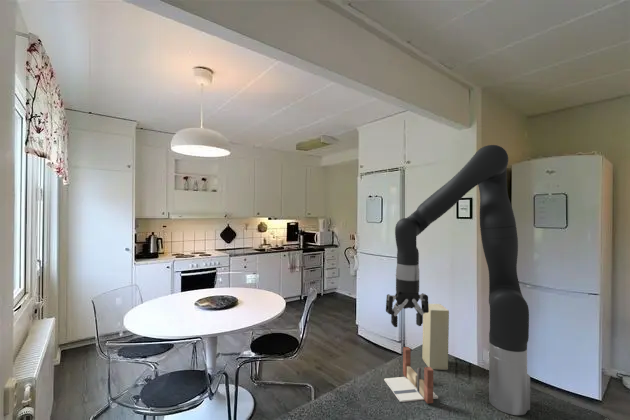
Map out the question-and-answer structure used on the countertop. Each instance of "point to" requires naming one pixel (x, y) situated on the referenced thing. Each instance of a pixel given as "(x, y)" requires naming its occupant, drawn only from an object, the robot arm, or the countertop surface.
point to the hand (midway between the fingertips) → (407, 325)
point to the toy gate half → (408, 366)
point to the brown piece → (425, 384)
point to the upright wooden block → (436, 337)
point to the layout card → (405, 389)
